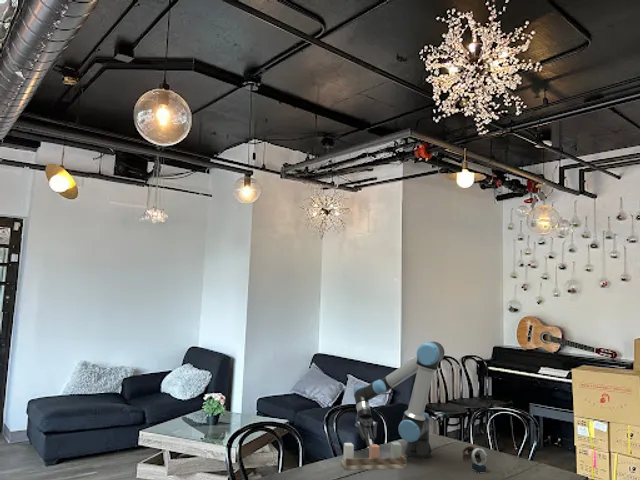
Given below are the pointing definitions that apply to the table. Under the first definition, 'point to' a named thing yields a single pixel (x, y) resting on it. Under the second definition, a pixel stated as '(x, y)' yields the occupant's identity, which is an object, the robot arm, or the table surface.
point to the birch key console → (374, 463)
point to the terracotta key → (374, 451)
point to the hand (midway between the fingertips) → (371, 452)
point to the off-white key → (348, 451)
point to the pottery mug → (470, 453)
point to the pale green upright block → (395, 450)
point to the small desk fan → (479, 466)
